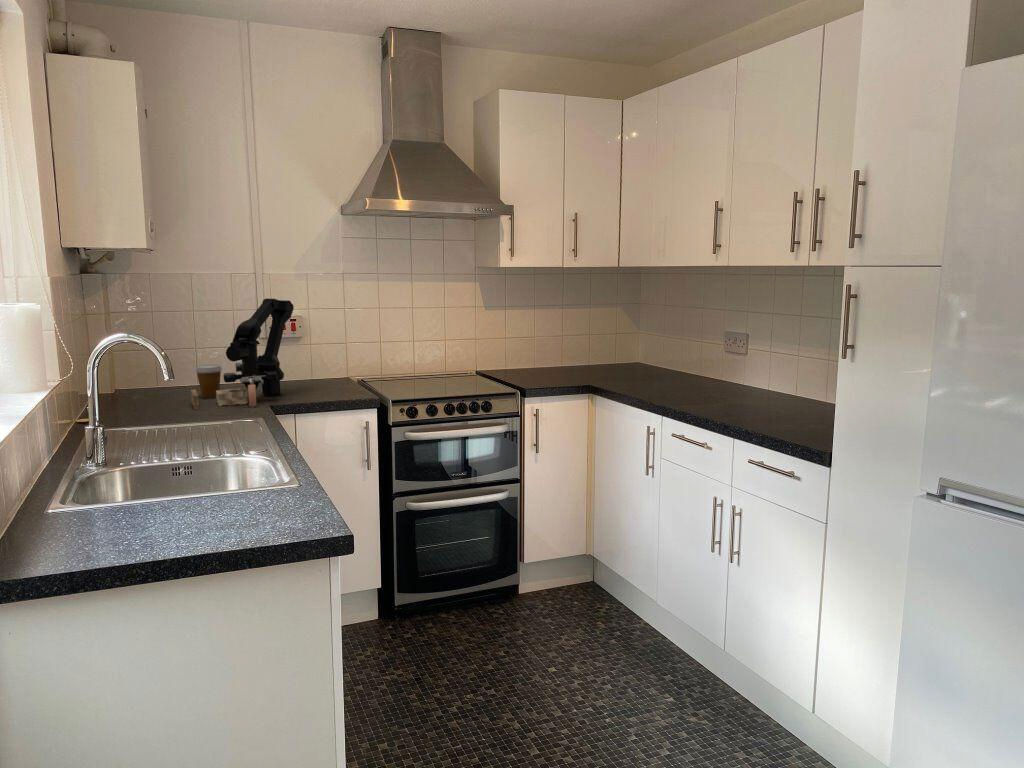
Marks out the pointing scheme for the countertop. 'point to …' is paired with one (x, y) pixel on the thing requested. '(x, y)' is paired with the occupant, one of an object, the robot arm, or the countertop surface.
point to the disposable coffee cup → (209, 379)
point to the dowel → (252, 395)
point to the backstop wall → (195, 399)
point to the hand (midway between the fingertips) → (251, 398)
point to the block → (231, 397)
